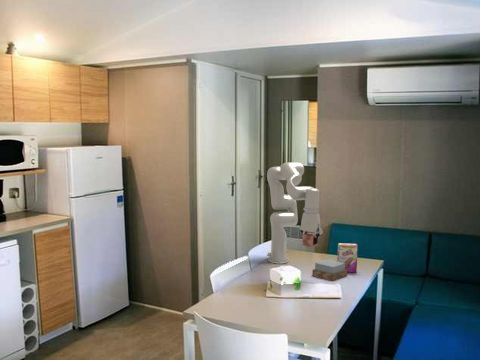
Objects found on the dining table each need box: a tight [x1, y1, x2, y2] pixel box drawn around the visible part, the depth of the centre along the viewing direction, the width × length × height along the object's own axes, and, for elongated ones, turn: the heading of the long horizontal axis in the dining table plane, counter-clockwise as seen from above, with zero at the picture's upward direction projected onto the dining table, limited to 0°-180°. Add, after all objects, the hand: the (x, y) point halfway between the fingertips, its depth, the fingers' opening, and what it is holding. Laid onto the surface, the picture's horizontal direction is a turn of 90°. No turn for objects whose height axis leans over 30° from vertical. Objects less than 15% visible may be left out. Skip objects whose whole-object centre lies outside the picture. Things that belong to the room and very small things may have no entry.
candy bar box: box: [337, 242, 359, 274], centre depth 276 cm, size 11×5×16 cm, turn 84°
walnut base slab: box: [311, 268, 348, 282], centre depth 267 cm, size 14×14×4 cm
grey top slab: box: [314, 258, 345, 274], centre depth 267 cm, size 12×12×4 cm
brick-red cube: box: [302, 232, 319, 248], centre depth 258 cm, size 6×6×6 cm
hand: (310, 242), depth 259 cm, fingers closed on brick-red cube, 6 cm apart
